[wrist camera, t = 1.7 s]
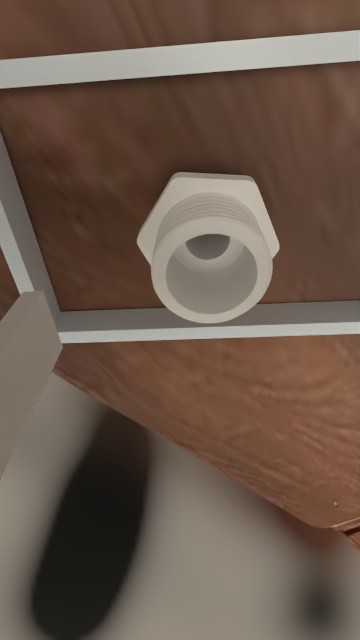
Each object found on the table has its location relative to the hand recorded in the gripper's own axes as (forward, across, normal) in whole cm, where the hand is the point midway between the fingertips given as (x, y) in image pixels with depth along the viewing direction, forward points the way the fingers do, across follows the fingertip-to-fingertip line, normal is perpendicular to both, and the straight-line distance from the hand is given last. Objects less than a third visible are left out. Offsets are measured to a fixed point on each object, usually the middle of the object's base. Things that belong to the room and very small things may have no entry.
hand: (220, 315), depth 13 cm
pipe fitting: (+11, 0, 0) cm, 11 cm away
